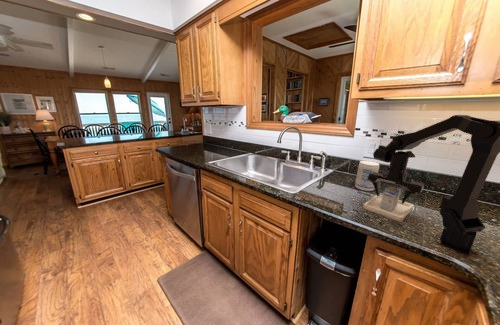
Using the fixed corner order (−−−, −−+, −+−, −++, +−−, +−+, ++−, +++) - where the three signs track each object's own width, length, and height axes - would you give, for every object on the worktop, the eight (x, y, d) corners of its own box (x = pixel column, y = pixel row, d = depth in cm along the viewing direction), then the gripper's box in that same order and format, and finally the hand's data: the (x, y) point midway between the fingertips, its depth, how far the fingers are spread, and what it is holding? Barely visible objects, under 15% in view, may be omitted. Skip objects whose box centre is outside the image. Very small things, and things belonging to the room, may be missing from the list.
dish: (412, 208, 86) (413, 204, 85) (401, 222, 75) (402, 218, 74) (377, 197, 96) (378, 193, 96) (362, 208, 85) (363, 204, 85)
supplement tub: (360, 191, 103) (365, 165, 99) (351, 184, 113) (355, 160, 109) (378, 191, 103) (384, 165, 99) (368, 184, 112) (372, 160, 109)
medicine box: (385, 202, 89) (389, 185, 87) (396, 206, 86) (401, 188, 84) (379, 208, 85) (383, 189, 82) (391, 212, 81) (396, 193, 79)
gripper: (431, 167, 78) (421, 202, 83) (379, 158, 92) (373, 188, 96) (425, 172, 71) (415, 210, 76) (370, 162, 85) (364, 194, 89)
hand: (389, 199), depth 84 cm, fingers open, 9 cm apart
